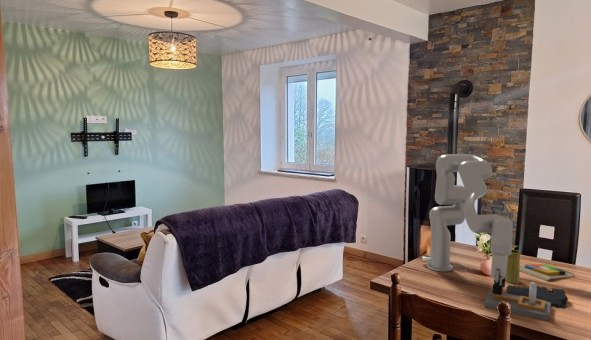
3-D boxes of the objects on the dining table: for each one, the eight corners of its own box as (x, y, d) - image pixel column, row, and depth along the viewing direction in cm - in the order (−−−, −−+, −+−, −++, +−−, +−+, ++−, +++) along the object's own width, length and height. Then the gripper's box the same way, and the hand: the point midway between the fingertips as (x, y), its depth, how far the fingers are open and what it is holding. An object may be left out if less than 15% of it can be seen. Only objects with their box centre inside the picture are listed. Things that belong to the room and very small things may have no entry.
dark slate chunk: (505, 288, 183) (505, 277, 183) (562, 296, 174) (563, 285, 174) (507, 301, 169) (507, 290, 169) (570, 310, 161) (570, 299, 160)
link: (492, 300, 164) (492, 286, 163) (495, 293, 171) (496, 279, 171) (543, 311, 154) (544, 296, 153) (545, 303, 161) (546, 288, 161)
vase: (521, 284, 187) (523, 253, 186) (506, 283, 188) (508, 252, 187) (517, 279, 193) (518, 249, 191) (503, 278, 194) (504, 248, 193)
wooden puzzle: (575, 277, 197) (575, 270, 196) (547, 282, 190) (548, 275, 189) (541, 266, 213) (541, 259, 213) (515, 270, 206) (515, 264, 205)
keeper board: (484, 306, 163) (485, 279, 162) (489, 294, 175) (491, 269, 174) (548, 320, 151) (550, 291, 150) (550, 307, 163) (552, 279, 162)
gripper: (494, 242, 174) (492, 281, 175) (487, 253, 159) (485, 295, 161) (513, 245, 170) (511, 285, 171) (508, 256, 155) (506, 299, 157)
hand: (498, 290), depth 166 cm, fingers open, 9 cm apart
